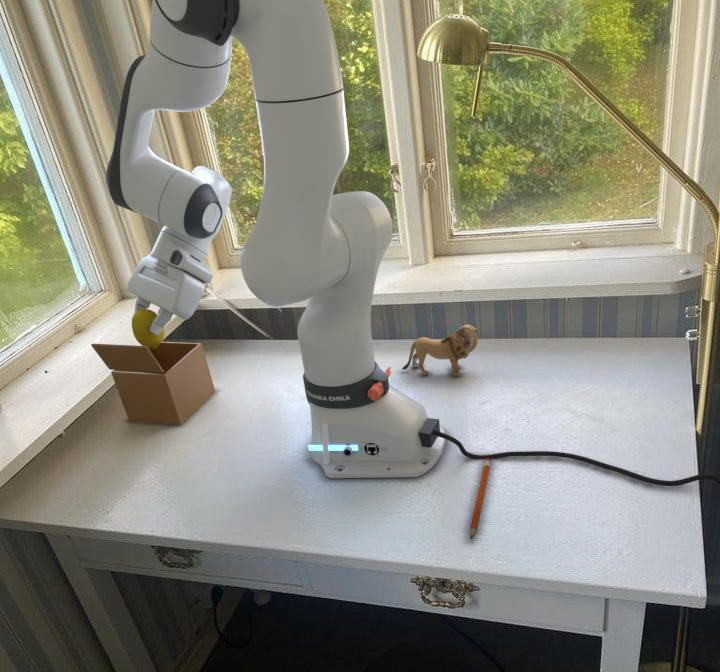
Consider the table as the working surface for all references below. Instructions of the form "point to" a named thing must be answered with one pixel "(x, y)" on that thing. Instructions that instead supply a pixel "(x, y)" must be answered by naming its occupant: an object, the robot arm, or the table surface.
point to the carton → (167, 385)
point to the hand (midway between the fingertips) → (144, 328)
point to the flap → (127, 357)
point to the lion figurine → (444, 348)
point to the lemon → (146, 328)
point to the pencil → (480, 497)
